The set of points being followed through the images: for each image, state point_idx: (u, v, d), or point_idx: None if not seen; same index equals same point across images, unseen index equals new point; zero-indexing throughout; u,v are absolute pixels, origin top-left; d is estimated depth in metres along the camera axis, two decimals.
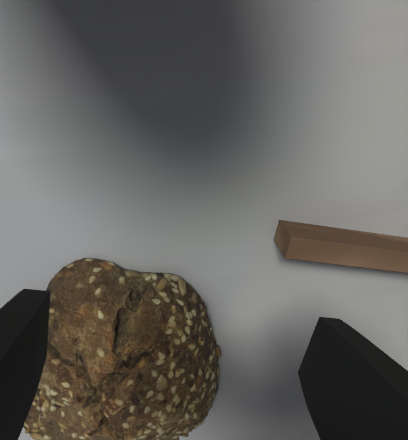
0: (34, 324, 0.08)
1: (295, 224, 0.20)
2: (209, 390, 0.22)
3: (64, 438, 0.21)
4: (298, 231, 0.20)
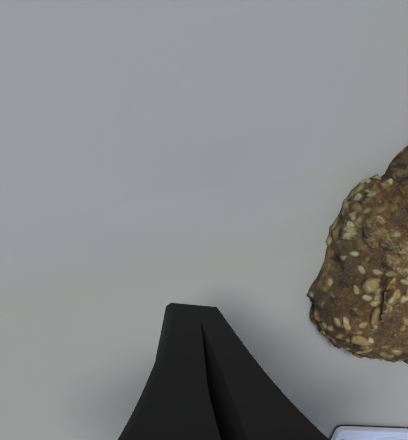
0: None
1: None
2: None
3: (394, 340, 0.19)
4: None
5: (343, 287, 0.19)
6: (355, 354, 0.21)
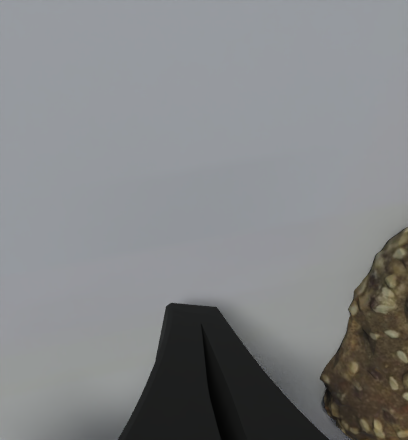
0: None
1: None
2: None
3: None
4: None
5: (374, 378, 0.13)
6: None
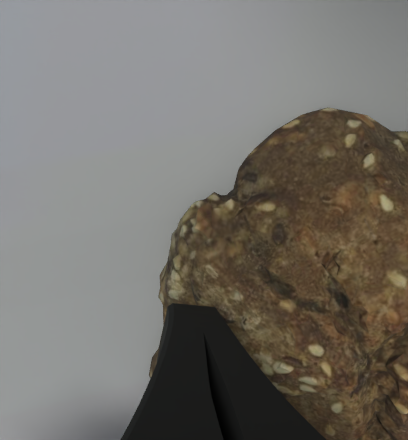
0: None
1: None
2: None
3: None
4: None
5: None
6: None
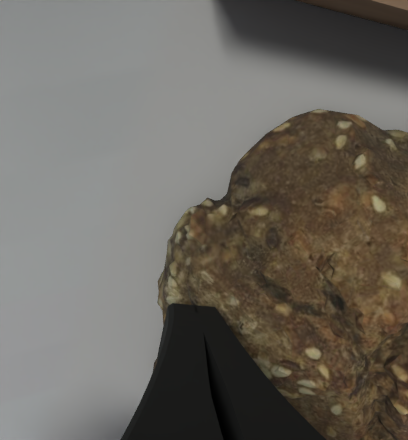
0: None
1: None
2: None
3: None
4: None
5: None
6: None
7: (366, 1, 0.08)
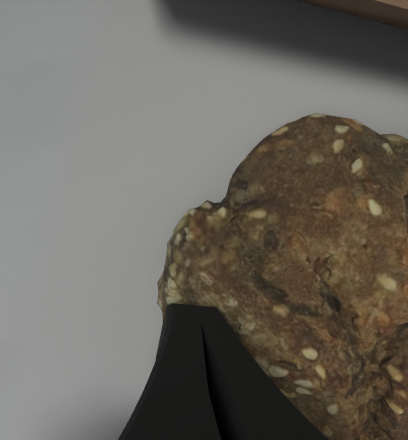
0: None
1: None
2: None
3: None
4: None
5: None
6: None
7: None
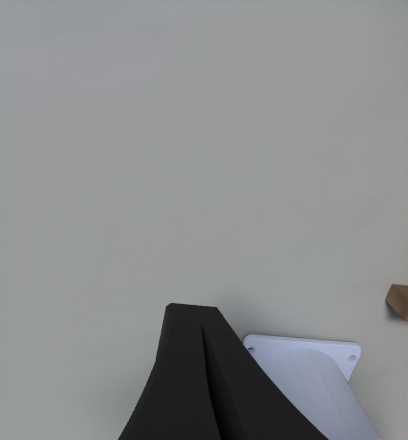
0: None
1: None
2: None
3: None
4: None
5: None
6: None
7: None
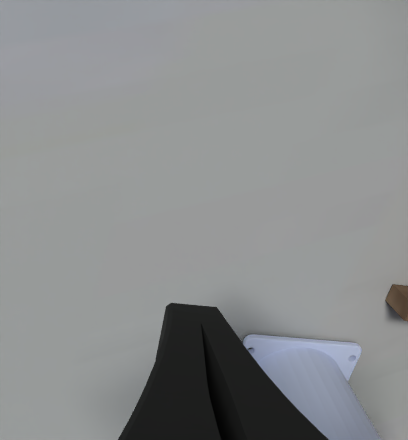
0: None
1: None
2: None
3: None
4: None
5: None
6: None
7: None
